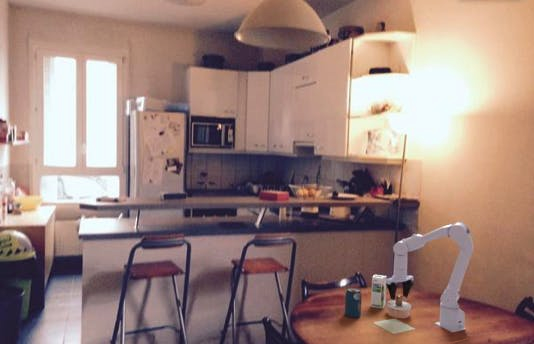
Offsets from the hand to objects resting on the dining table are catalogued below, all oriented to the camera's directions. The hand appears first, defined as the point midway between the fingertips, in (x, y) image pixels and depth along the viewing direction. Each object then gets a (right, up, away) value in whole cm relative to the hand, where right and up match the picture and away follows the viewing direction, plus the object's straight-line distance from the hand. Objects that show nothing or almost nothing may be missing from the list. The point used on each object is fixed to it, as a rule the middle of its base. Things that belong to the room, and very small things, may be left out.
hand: (398, 298), depth 193 cm
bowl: (0, -8, 0) cm, 8 cm away
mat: (-6, -8, -13) cm, 16 cm away
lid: (0, -4, 0) cm, 4 cm away
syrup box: (-7, -7, +11) cm, 14 cm away
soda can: (-21, -8, -2) cm, 23 cm away
